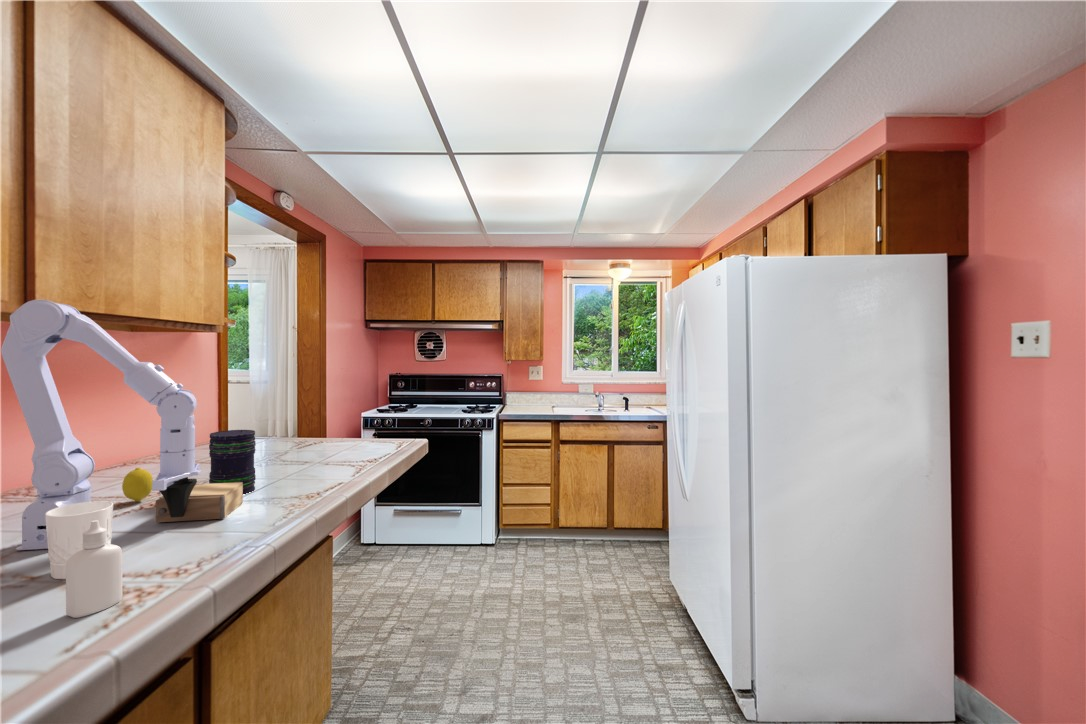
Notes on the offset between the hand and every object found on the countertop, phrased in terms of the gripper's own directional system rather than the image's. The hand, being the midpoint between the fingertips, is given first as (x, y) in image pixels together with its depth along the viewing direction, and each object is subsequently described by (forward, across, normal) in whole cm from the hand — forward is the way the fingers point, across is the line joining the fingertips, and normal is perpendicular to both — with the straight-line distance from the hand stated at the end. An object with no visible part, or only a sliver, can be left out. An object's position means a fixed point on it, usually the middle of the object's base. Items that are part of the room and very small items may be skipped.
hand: (177, 516), depth 99 cm
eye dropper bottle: (+2, -34, -6) cm, 35 cm away
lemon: (+2, +18, +16) cm, 25 cm away
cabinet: (+2, +8, -2) cm, 8 cm away
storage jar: (+2, +24, -2) cm, 24 cm away
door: (+1, +1, -2) cm, 3 cm away
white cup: (+2, -20, +4) cm, 21 cm away
